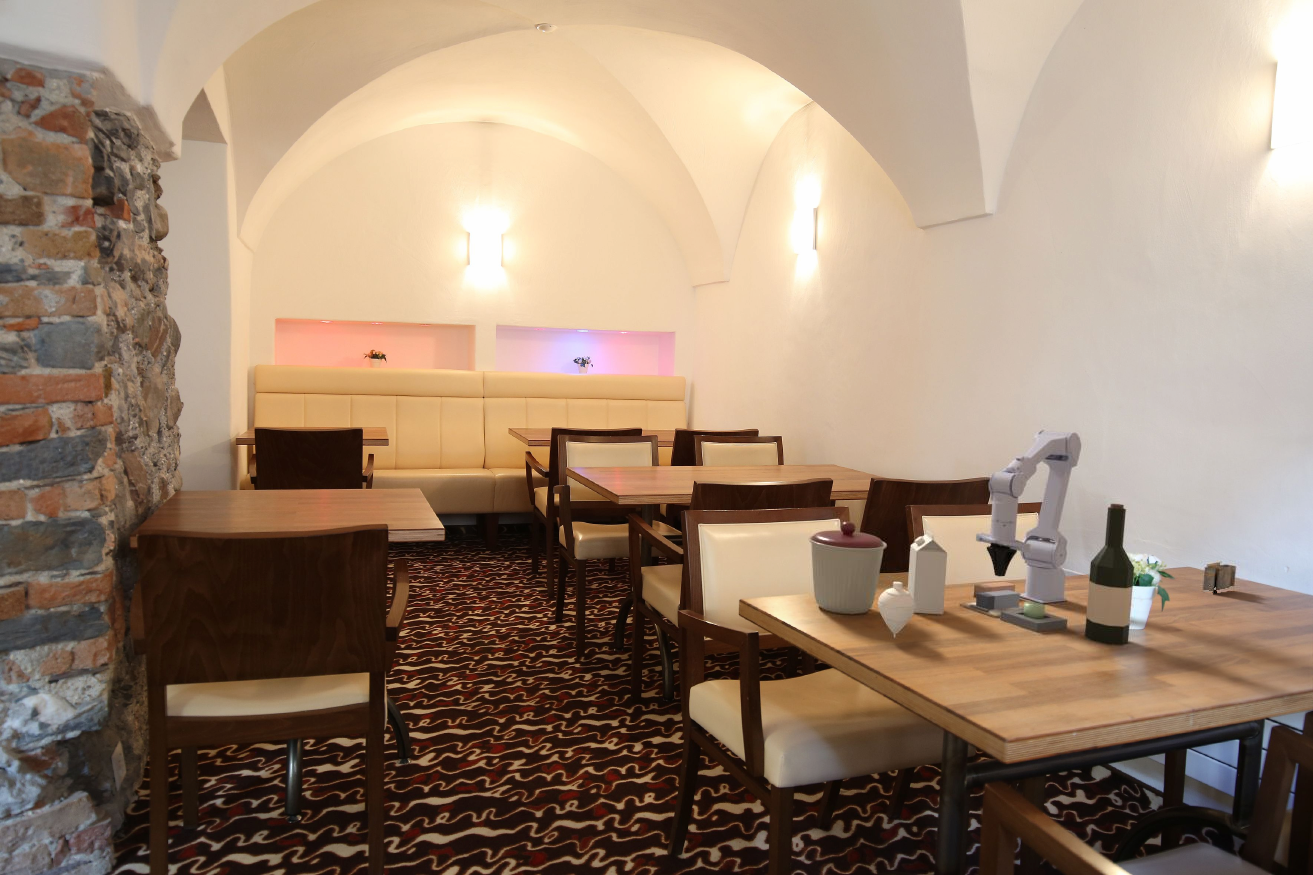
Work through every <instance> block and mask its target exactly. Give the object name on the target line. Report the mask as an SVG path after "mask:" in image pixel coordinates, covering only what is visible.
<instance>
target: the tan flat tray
mask: <svg viewBox="0 0 1313 875" xmlns="http://www.w3.org/2000/svg"><path fill="white" fill-rule="evenodd" d="M959 605H960V606H959V607H962V606H963V608H966V609H969V610H970V611H971V610H972V611H974V612H976V611H977V613H980V614H983V615H986V616H989V617H991V618H994V619H997V618H1000V616H1001V611H1008V610H1016V609H1024V606H1022V605H1019V607H1014V608H1005V609H996V610H988V609H985V608H982V607H979V606H976V601H973V602H972V601H971V602H961V603H959Z"/></svg>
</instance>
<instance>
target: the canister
mask: <svg viewBox="0 0 1313 875" xmlns="http://www.w3.org/2000/svg"><path fill="white" fill-rule="evenodd" d="M856 528H857V527H856V525H855V523H854V522H851V521H844V522H842V523H841V524H840V530H823V531H822V530H821V531H819V532H816V533H814V535H811V536H809V537H808V541H809V543H811V544H810V545H811V564H812V565H811V567H812V582H813V593H814V598H815V601H816V603H817V605H818V607H819V608H821V609H822V610H826V611H828V612H831V613H836V614H844V615H859V614H860V615H861V614H865V613H867V612H869V610H871V609H872V606H873V604H874V602H875V598H876V597H875V596H876V592H877V588H878V587H877V586H878V582H879V577H880V572H881V571H880V570H881V565H882V560H883V554H884V549H886V548H887V546H888V545H887V543H886V542H885V541H882V540H881V538H879V537H877V536H875V535H872V534H869V533H865V532H861V531H856Z"/></svg>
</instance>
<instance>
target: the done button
mask: <svg viewBox="0 0 1313 875" xmlns="http://www.w3.org/2000/svg"><path fill="white" fill-rule="evenodd" d="M1023 607H1024V613H1023V616H1026V617H1029V618H1032V619H1035V620H1036V619H1044V613H1046V612H1045V611H1046V605H1045V603H1040V602H1036V601H1025V602H1024V603H1023Z"/></svg>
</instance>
